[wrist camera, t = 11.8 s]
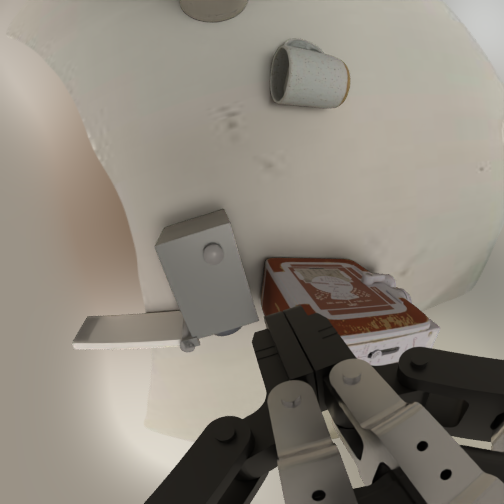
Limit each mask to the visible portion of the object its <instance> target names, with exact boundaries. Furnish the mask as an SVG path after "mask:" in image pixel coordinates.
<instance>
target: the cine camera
mask: <svg viewBox="0 0 504 504" xmlns="http://www.w3.org/2000/svg"><path fill="white" fill-rule="evenodd" d="M298 305H301V306H302V307H303V309H304V311H305V312H306V314H307V315H311V314H314V313H319V314H321V315H322V316H324V317H326V318H327V319H328V320H329V321H330V323H331V324H332V325H333V327H334V328H335V330H336V331H337V333H338V334H339V335H340V336H341V338H342V339H343V340H344V342H345V343H346V344H347V346H348V347H349V348H350V350H351V351H352V353H353V354H354V355H355V357H356V358H357V359H361V360H364V361H366V362H368V363H369V364H370V365H373V366H380V365H386V364H391V363H396V362H399V358H400V356H401V355H402V353H403V352H405V351H406V350H408V349H410V348H413V347H426V348H432V346H433V344H434V342H435V340H436V337H437V335H438V333H439V330H440V327H439V326H438V325H437V324H435V323H434V322H433V321H432V320H431V319H429V318H428V317H427V316H426V315H425V314H424V313H423V312H421V311H420V310H419V309H418V308H417V307H415V306H414V305H413V304H412V300H411V297H410V295H409V294H408V293H407V292H406V291H405V290H404V289H401V288H397V287H396V282H395V279H394V277H393V276H391V275H389V274H379V273H374V274H372V273H370V272H369V271H368V270H366V269H365V268H363V267H362V266H360V265H359V264H357V263H356V262H354V261H352V260H348V259H316V258H269V259H267V260H266V262H265V268H264V277H263V286H262V295H261V306H262V310H263V313H264V316H267V315H270V314H274V313H277V312H280V311H282V312H283V310H286V309H289V308H292V307H295V306H298Z"/></svg>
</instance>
